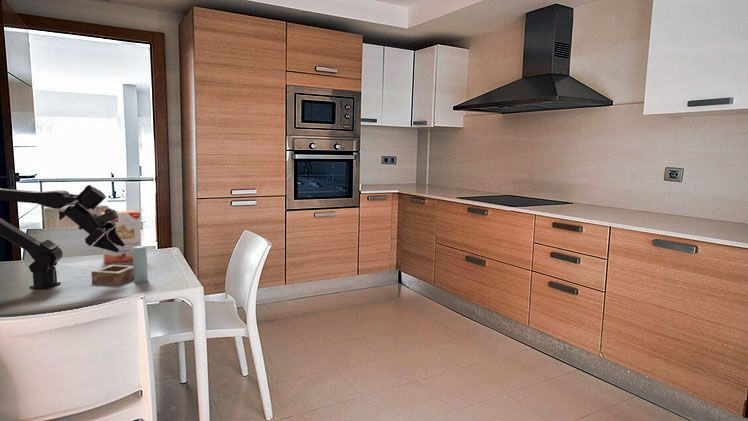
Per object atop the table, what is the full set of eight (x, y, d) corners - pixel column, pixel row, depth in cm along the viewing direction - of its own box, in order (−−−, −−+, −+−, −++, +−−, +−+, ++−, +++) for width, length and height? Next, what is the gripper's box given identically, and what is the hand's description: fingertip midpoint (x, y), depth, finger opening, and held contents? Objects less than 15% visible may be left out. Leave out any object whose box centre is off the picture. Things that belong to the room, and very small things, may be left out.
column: (142, 283, 166) (141, 248, 164) (131, 282, 167) (129, 248, 165) (150, 279, 170) (149, 246, 169) (139, 278, 171) (137, 245, 169)
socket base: (119, 284, 164) (118, 273, 163) (92, 282, 165) (91, 271, 165) (137, 276, 174) (137, 265, 174) (112, 274, 175) (111, 264, 175)
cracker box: (104, 264, 191) (101, 213, 188) (103, 260, 196) (100, 212, 193) (142, 260, 199) (140, 211, 196) (140, 257, 204) (138, 210, 201)
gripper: (93, 205, 152) (132, 237, 157) (108, 199, 170) (142, 227, 175) (68, 229, 151) (108, 261, 156) (85, 220, 169) (120, 249, 174)
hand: (121, 248), depth 165 cm, fingers open, 9 cm apart
